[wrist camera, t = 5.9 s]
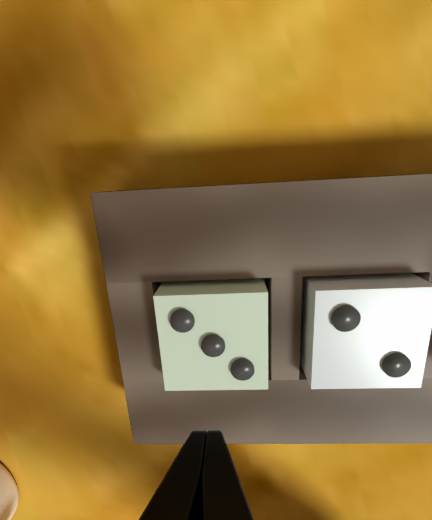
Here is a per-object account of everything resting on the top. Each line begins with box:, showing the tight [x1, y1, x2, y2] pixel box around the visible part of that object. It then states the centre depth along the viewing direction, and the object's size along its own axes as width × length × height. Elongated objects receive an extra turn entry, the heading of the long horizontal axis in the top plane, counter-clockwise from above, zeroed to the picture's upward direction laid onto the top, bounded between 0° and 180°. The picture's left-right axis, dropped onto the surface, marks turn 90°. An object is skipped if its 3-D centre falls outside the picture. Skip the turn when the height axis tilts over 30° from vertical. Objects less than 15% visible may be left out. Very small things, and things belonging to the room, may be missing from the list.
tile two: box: [300, 273, 432, 389], centre depth 14 cm, size 5×5×3 cm
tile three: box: [153, 278, 268, 391], centre depth 14 cm, size 5×5×3 cm
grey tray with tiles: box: [91, 173, 432, 444], centre depth 15 cm, size 14×24×3 cm, turn 93°
